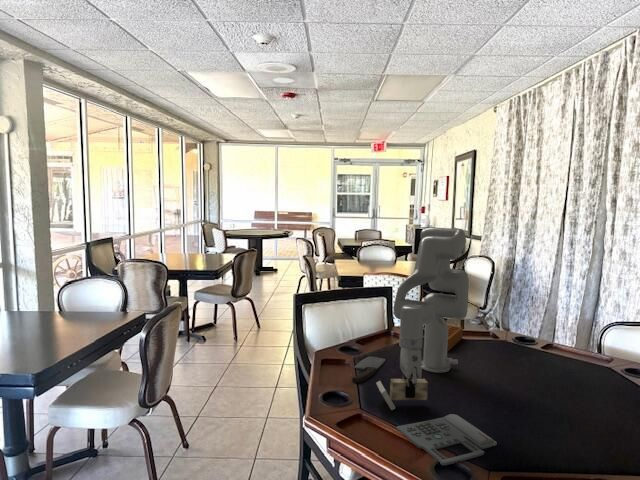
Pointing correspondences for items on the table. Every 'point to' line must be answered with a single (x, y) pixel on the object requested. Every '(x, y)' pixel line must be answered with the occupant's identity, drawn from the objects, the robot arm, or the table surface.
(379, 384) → the tile
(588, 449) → the table surface
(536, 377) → the table surface
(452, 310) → the robot arm
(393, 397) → the tan wooden block
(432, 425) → the office telephone
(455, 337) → the brick
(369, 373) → the cleaver
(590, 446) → the table surface
